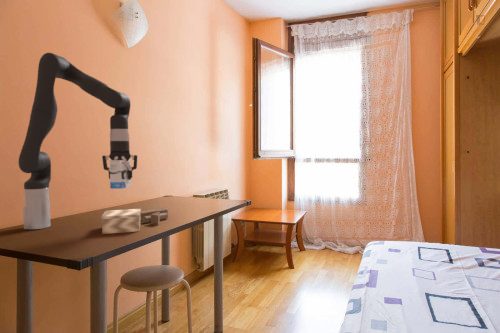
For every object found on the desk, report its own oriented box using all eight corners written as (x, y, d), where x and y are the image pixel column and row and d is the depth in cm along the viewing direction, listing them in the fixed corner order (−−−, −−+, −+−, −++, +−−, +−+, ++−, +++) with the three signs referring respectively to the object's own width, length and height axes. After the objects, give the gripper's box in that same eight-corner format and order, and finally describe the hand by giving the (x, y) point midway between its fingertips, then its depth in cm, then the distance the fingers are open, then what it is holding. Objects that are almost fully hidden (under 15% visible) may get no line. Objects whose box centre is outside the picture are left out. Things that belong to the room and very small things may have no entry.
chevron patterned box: (101, 234, 136) (100, 216, 136) (106, 226, 150) (105, 210, 150) (139, 231, 140) (139, 214, 139) (141, 224, 154) (140, 208, 154)
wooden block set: (133, 210, 160) (165, 205, 174) (134, 222, 160) (165, 216, 175) (155, 213, 150) (187, 208, 164) (156, 226, 150) (187, 219, 164)
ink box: (120, 188, 139) (119, 160, 139) (109, 188, 140) (108, 160, 140) (131, 186, 148) (131, 159, 147) (121, 186, 149) (120, 159, 148)
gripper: (99, 140, 138) (101, 181, 138) (137, 139, 141) (138, 180, 142) (102, 140, 145) (103, 179, 146) (138, 140, 149) (139, 178, 149)
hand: (120, 179), depth 144 cm, fingers closed on ink box, 6 cm apart
